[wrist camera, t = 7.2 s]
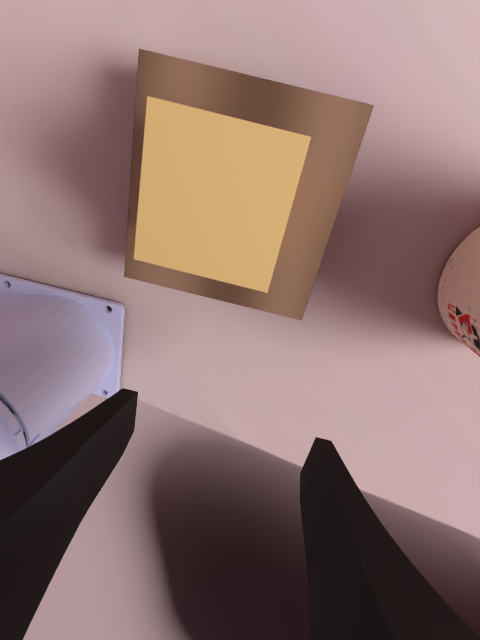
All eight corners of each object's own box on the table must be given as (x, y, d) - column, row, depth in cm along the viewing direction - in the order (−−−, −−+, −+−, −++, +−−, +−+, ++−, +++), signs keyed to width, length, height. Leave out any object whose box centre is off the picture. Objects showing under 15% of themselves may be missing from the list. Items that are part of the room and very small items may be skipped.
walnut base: (145, 264, 20) (124, 276, 17) (163, 73, 15) (138, 48, 13) (297, 301, 19) (301, 320, 17) (356, 119, 15) (373, 105, 13)
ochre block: (174, 238, 16) (133, 259, 11) (190, 126, 14) (147, 96, 9) (269, 262, 16) (267, 292, 11) (299, 153, 14) (311, 137, 9)
